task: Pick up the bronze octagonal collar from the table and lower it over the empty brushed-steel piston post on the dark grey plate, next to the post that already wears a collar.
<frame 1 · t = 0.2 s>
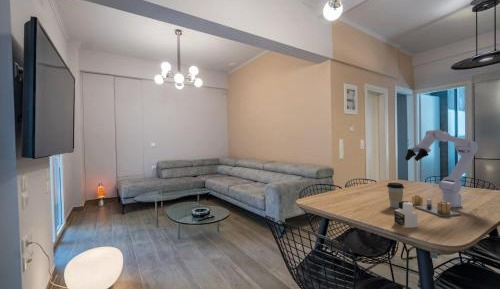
hand: (411, 159, 144), 31 cm above the table, tool tilted 45°, fingers open, 7 cm apart
medicine bottle: (405, 225, 117), on the table
coffee cup: (395, 207, 148), on the table
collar: (417, 204, 153), on the table
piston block: (436, 211, 138), on the table
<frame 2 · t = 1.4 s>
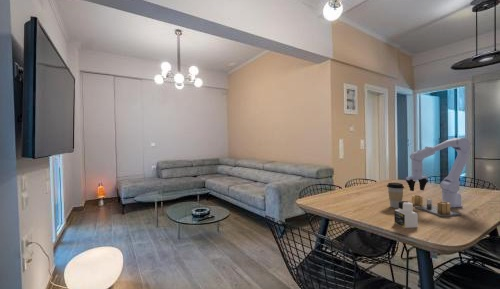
hand: (416, 190, 153), 9 cm above the table, tool pointing down, fingers open, 7 cm apart
nothing on the table moved.
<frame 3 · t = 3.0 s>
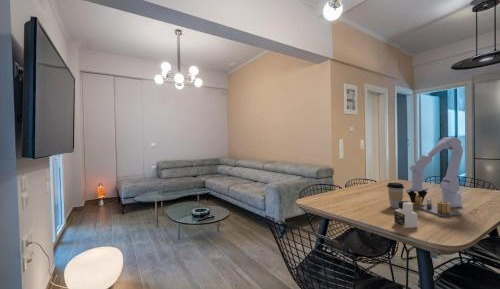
hand: (417, 202, 153), 1 cm above the table, tool pointing down, fingers closed on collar, 6 cm apart
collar: (417, 204, 153), on the table, touching gripper
everything else where it was.
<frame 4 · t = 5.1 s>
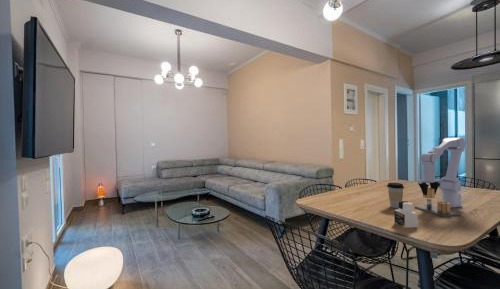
hand: (429, 194, 142), 9 cm above the table, tool pointing down, fingers closed on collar, 6 cm apart
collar: (428, 197, 142), point 7 cm above the table, touching gripper
everything else where it was.
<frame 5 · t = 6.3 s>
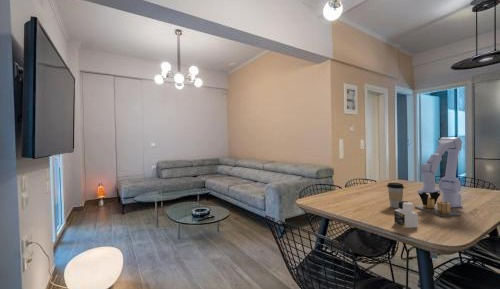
hand: (429, 204, 142), 3 cm above the table, tool pointing down, fingers closed on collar, 6 cm apart
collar: (428, 207, 142), point 1 cm above the table, touching gripper
everything else where it was.
when the fingers open (3 cm above the table, at t = 7.1 s): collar stays where it is, resting on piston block.
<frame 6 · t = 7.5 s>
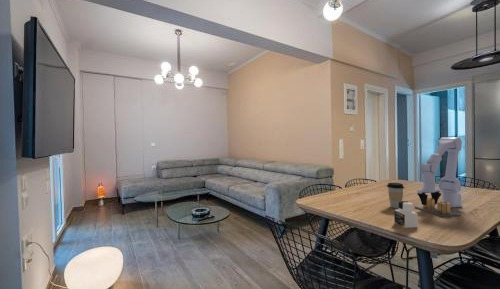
hand: (429, 204, 142), 3 cm above the table, tool pointing down, fingers open, 7 cm apart
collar: (428, 207, 142), point 1 cm above the table, touching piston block
everything else where it was.
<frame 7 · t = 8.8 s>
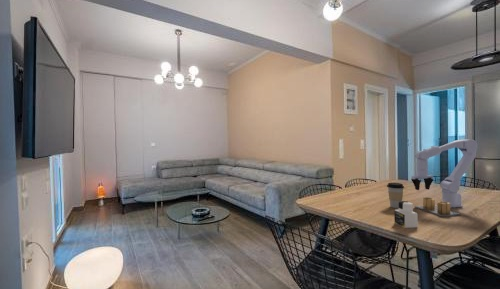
hand: (422, 189, 152), 10 cm above the table, tool pointing down, fingers open, 7 cm apart
nothing on the table moved.
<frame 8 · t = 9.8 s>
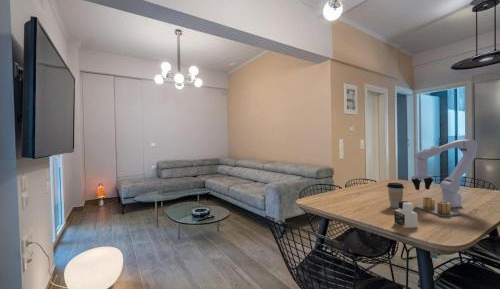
hand: (422, 189, 152), 10 cm above the table, tool pointing down, fingers open, 7 cm apart
nothing on the table moved.
at the end: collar 0.3 cm from the target spot on the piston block, point 1.0 cm above the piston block's base; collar tilted 0°; the gripper is holding nothing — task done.
